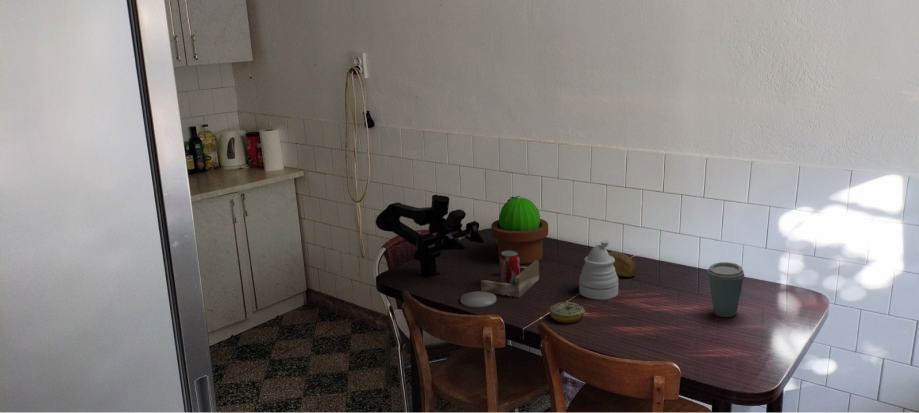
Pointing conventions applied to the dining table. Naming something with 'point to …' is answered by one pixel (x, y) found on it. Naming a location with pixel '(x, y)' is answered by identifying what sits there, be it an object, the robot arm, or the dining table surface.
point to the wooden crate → (522, 282)
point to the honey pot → (599, 274)
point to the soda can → (509, 267)
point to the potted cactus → (520, 230)
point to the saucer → (478, 299)
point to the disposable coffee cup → (725, 287)
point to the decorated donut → (566, 312)
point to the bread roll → (623, 264)
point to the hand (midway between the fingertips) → (474, 245)
